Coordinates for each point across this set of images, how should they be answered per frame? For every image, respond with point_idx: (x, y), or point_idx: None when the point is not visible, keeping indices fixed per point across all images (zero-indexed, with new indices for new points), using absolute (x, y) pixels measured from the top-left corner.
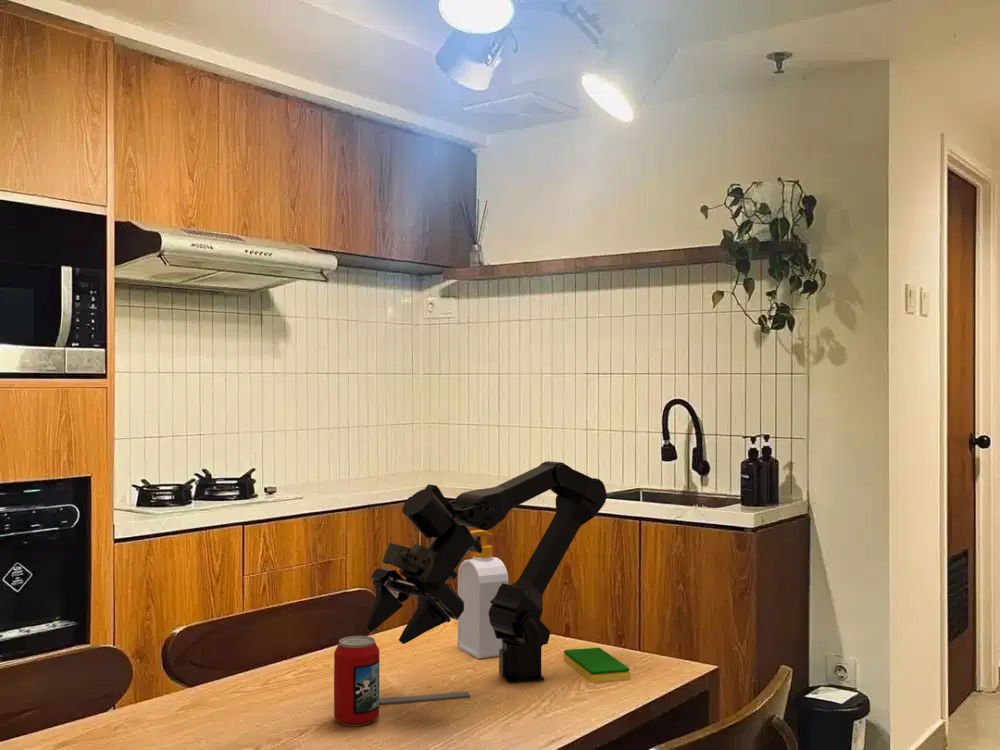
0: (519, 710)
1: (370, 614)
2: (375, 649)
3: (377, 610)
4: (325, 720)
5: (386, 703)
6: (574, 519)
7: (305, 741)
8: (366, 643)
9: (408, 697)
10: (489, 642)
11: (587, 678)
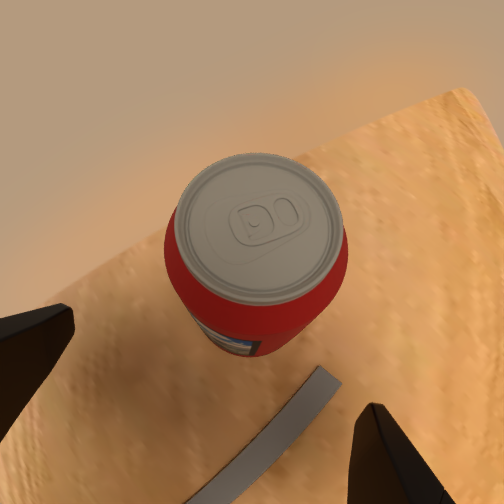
0: (24, 497)
1: (420, 456)
2: (170, 256)
3: (396, 496)
4: None
5: (264, 428)
6: None
7: None
8: (200, 220)
9: (242, 482)
10: None
11: None
